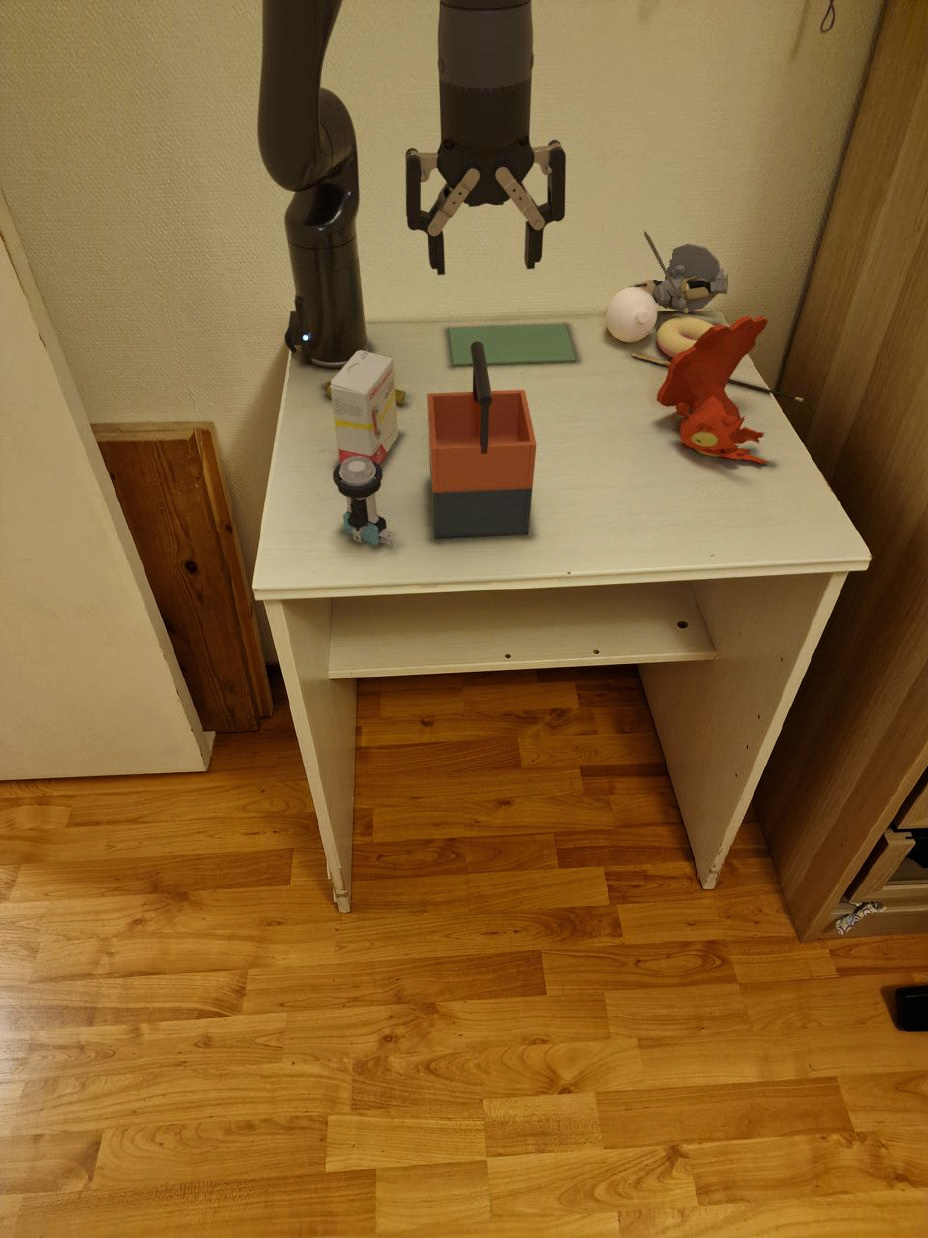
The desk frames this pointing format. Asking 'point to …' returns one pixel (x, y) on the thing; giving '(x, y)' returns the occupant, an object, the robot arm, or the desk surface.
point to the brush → (728, 379)
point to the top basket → (480, 436)
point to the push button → (362, 499)
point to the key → (398, 393)
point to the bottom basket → (480, 513)
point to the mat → (513, 344)
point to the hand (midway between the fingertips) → (484, 268)
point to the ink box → (365, 406)
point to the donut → (680, 334)
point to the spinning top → (631, 314)
